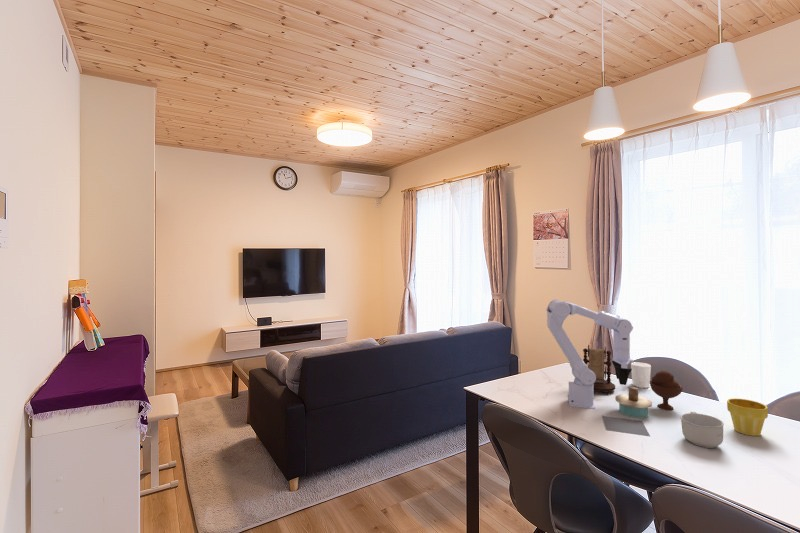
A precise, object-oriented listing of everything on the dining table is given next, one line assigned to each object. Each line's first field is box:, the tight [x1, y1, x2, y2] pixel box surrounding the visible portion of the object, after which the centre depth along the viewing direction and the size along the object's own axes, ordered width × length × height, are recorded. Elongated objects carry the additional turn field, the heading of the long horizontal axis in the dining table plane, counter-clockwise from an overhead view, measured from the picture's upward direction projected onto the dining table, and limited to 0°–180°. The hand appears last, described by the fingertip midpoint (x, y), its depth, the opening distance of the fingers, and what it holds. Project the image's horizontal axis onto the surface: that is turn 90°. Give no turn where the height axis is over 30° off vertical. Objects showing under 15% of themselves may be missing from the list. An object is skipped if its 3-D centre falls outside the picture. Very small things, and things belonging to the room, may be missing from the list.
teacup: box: [680, 411, 724, 449], centre depth 124 cm, size 14×11×8 cm
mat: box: [601, 415, 651, 437], centre depth 136 cm, size 13×13×1 cm
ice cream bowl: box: [649, 370, 684, 412], centre depth 152 cm, size 11×11×15 cm
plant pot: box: [726, 398, 769, 437], centre depth 131 cm, size 10×10×10 cm
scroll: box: [582, 344, 616, 395], centre depth 175 cm, size 15×15×20 cm
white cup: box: [630, 361, 652, 389], centre depth 179 cm, size 8×8×10 cm
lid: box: [614, 386, 653, 409], centre depth 147 cm, size 12×12×5 cm
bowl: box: [618, 403, 649, 419], centre depth 147 cm, size 9×9×4 cm
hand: (621, 381), depth 154 cm, fingers open, 7 cm apart
